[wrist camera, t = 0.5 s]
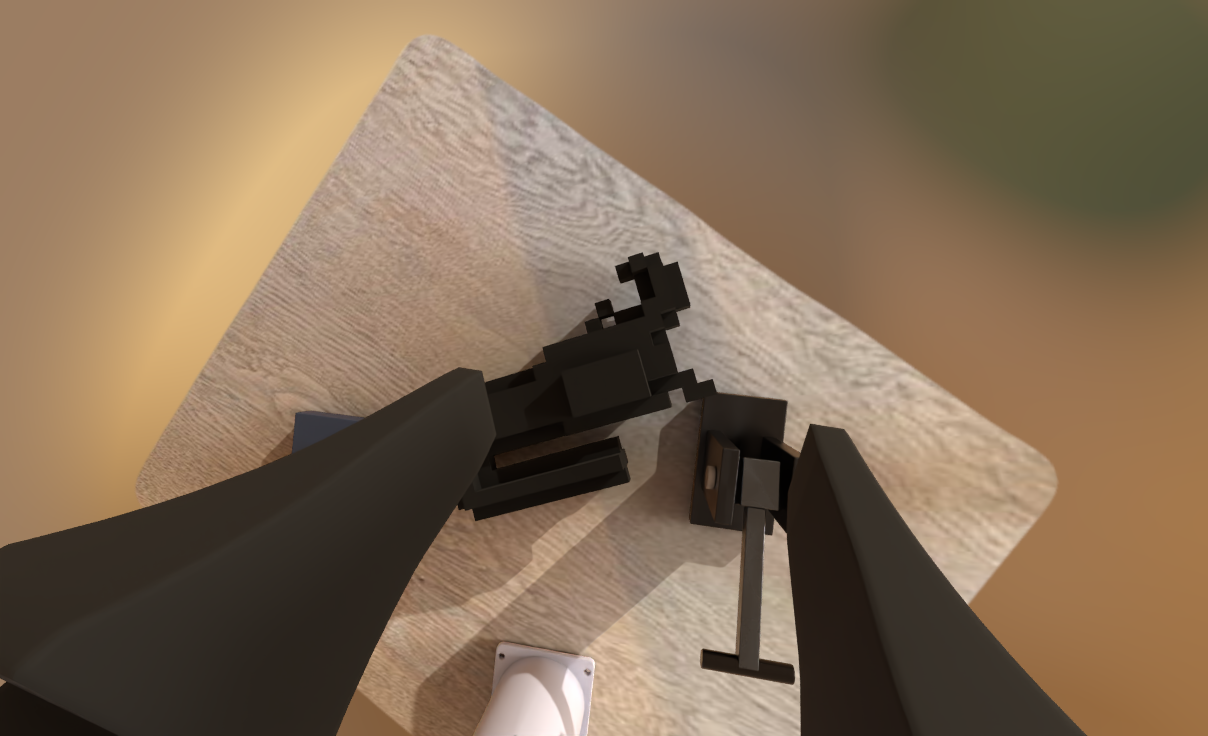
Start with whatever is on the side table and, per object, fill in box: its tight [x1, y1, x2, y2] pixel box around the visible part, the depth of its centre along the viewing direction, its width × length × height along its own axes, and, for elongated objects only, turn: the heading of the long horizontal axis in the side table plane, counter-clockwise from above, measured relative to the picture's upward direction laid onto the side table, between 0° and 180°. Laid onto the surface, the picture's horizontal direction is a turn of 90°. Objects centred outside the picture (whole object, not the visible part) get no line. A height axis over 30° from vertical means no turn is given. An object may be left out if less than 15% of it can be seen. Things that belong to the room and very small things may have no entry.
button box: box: [292, 411, 364, 453], centre depth 36 cm, size 11×9×4 cm
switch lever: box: [700, 457, 795, 685], centre depth 27 cm, size 12×5×2 cm, turn 174°
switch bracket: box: [689, 392, 801, 535], centre depth 30 cm, size 10×6×9 cm, turn 174°
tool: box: [457, 252, 717, 521], centre depth 33 cm, size 5×20×15 cm
